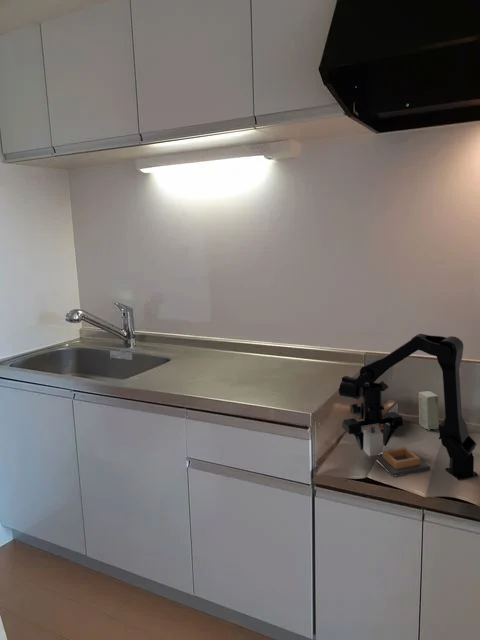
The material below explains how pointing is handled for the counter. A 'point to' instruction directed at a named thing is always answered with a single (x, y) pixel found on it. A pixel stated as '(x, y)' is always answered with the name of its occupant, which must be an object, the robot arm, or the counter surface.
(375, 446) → the light gray block
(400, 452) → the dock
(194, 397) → the counter surface
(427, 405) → the skincare box
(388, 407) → the tin
